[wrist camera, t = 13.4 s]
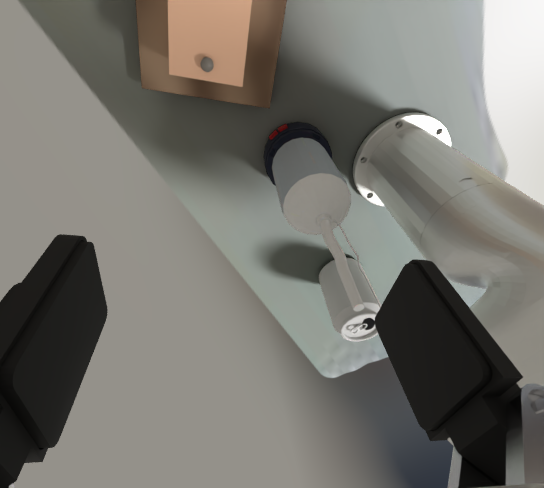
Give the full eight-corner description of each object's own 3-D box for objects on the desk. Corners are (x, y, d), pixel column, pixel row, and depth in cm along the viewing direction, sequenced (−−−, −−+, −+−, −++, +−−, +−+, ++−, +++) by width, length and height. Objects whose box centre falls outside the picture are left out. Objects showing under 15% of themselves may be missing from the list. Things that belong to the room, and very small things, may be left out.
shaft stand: (291, -53, 27) (306, -66, 22) (267, 103, 35) (274, 121, 30) (134, -94, 25) (109, -119, 20) (146, 84, 32) (130, 99, 27)
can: (363, 279, 54) (390, 337, 45) (322, 291, 55) (340, 350, 46) (358, 248, 50) (387, 306, 40) (313, 262, 51) (332, 321, 41)
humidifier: (275, 112, 36) (330, 247, 16) (338, 133, 38) (453, 273, 18) (255, 175, 40) (279, 340, 21) (312, 190, 42) (383, 352, 23)
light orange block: (250, -23, 27) (255, -29, 21) (240, 74, 31) (242, 88, 26) (178, -41, 25) (165, -51, 20) (178, 63, 30) (167, 75, 25)
